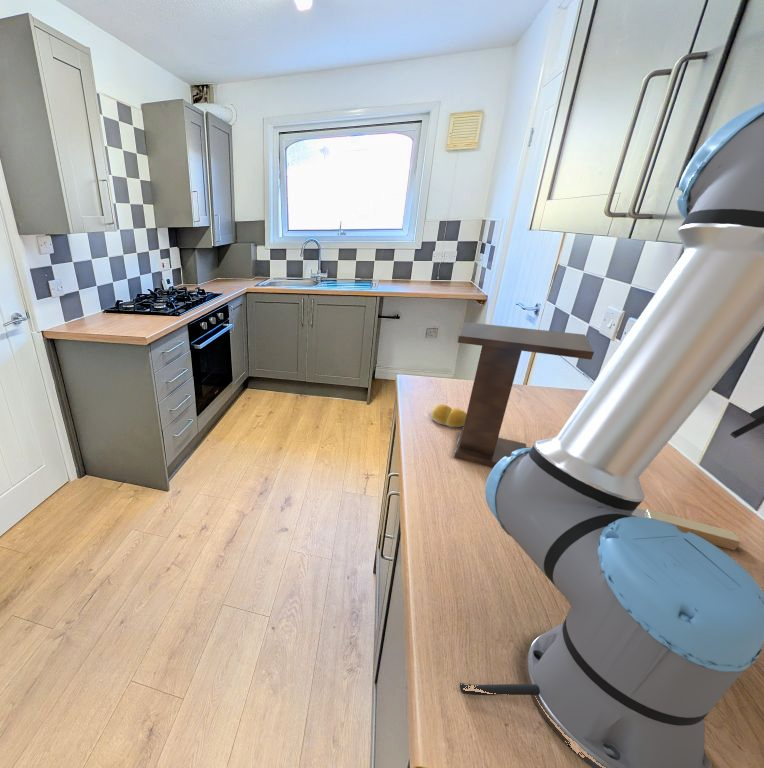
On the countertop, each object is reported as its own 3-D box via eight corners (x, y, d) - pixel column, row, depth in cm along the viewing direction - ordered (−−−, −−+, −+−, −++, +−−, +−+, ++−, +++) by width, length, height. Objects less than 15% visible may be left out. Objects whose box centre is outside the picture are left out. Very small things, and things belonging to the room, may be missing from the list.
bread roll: (462, 431, 101) (465, 418, 99) (427, 421, 106) (429, 408, 104) (470, 419, 106) (473, 406, 105) (436, 410, 112) (438, 397, 110)
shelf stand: (544, 453, 91) (584, 334, 79) (548, 482, 82) (594, 351, 70) (442, 430, 102) (464, 322, 90) (435, 452, 92) (458, 335, 81)
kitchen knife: (727, 539, 67) (733, 531, 66) (735, 551, 65) (740, 542, 64) (521, 484, 81) (523, 476, 80) (521, 491, 79) (523, 484, 78)
